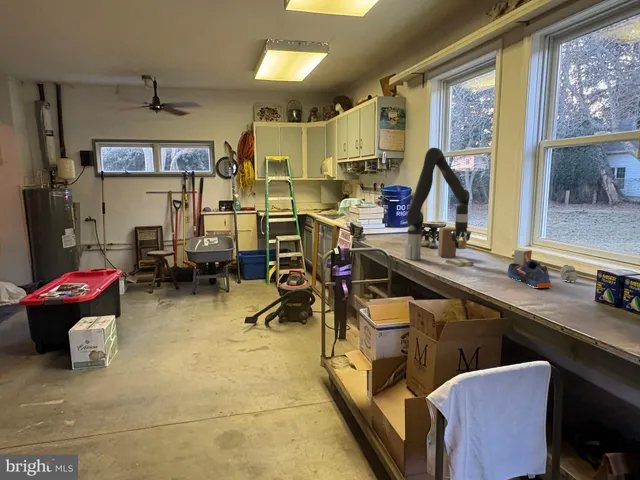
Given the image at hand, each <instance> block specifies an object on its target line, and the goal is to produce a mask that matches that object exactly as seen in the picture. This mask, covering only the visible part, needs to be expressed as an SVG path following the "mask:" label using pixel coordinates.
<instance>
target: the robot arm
mask: <svg viewBox="0 0 640 480" xmlns="http://www.w3.org/2000/svg"><path fill="white" fill-rule="evenodd" d="M424 155H425V156H424V161H423V166H422V169H421V172H420V175H419V178H418V181H417V183H416V187H415V191H414V194H413V198H412V202H411V204H410V206H409V209H408V211H407V214H406V221H407V223H408V224H409V227H408V229H407V237H406V238H407V240H406V244H405V257H404V258H405V259H407V260H409V261H411V260H413V261H417V260H421V253H422V252H421V249H422V231H423V227H424V214H423V212H422V207H423V206H424V203H425V202H426V201H427V198H428V197H429V195H430V192H431V189H432V186H433V183H434V181H433V180H434V171H435V167H437V168H438V169H439V171H440V172H441V174H442V176H443V179H444V181H445V183H446V184H447V185H448V187H449V188H450V189H451V191H452V193H453V195H454V196H455V198H456V199H457V205H456V209H455V220H454V221H455V223H454V225H455V226H454V228H455V229H456V230H455V232H451V236H452V241H454V242H455V248H458V241H459V240H464V241H466V242H468V241H470V238H471V234H472V231H469V230H468V225H469V223H468V221H469V205H470V204H469V203H470V195H471V194H470V192H469V190H467V189H466V188H464V186H463V185H462V182H461V180H460V179H459V177H458V176H457V175H456V173H455V172H454V170H452V168H451V166H450V165H449V163H448V161H447V159H446V157H445V155H444V153H443V152H442V150H441V148H437V147H430V148H429V149H427V151H426V152H425V154H424ZM455 235H456V236H455Z"/></svg>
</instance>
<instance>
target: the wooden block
mask: <svg viewBox="0 0 640 480" xmlns="http://www.w3.org/2000/svg"><path fill="white" fill-rule="evenodd" d="M455 230H456V229H455V227H439V230H438V247H437V248H438V249H437V252H438V253H437V254H438V256H440V257H441V258H456V255H457V249H456V248H455V242H454V241H452V236H451V232H455ZM455 236H456V235H455Z"/></svg>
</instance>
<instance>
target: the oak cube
mask: <svg viewBox="0 0 640 480" xmlns="http://www.w3.org/2000/svg"><path fill="white" fill-rule="evenodd" d="M456 250H467V241H464V240H463V239H459V241H458V248H456Z"/></svg>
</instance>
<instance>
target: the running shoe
mask: <svg viewBox="0 0 640 480" xmlns="http://www.w3.org/2000/svg"><path fill="white" fill-rule="evenodd" d="M507 274H508V277H509V278H510V279H512V278H513V279H517V280H521V281H526V282H525V283H526V285H527V284H529V285H531V286H534V287H538V288H544V289H550V288H549V287H551V288H552V285H551V284H552V283H551V280H550V275H549V270H548V266H547V265H544V266H542V264H541V263H539V262H538V261H536V260H534V259H531V260H530V261H528V262H525V264H522V265H519V264H515V263H514V262H512V263H510V264H509V265H508V268H507ZM513 279H512V280H513ZM517 280H516V281H517Z"/></svg>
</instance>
